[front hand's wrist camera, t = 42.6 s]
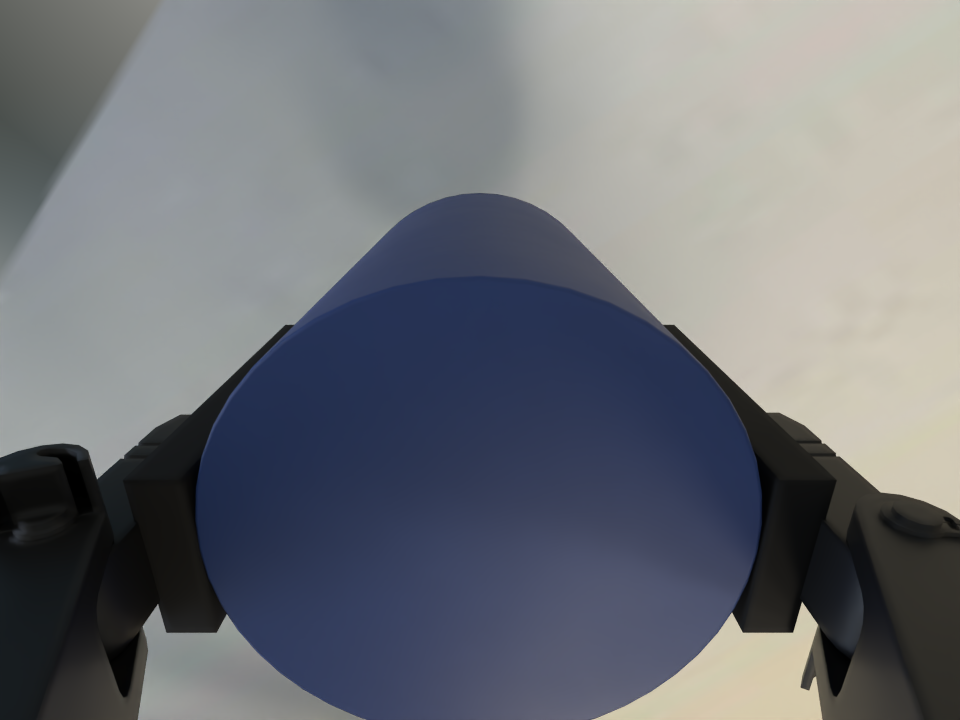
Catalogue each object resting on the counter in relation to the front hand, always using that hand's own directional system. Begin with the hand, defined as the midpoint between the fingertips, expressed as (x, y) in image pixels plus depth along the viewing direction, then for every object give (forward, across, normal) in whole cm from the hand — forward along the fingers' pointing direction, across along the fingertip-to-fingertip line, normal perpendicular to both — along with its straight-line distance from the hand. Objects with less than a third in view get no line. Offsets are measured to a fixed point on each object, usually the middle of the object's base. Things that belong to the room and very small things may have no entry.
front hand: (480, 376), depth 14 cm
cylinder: (+4, 0, 0) cm, 4 cm away
